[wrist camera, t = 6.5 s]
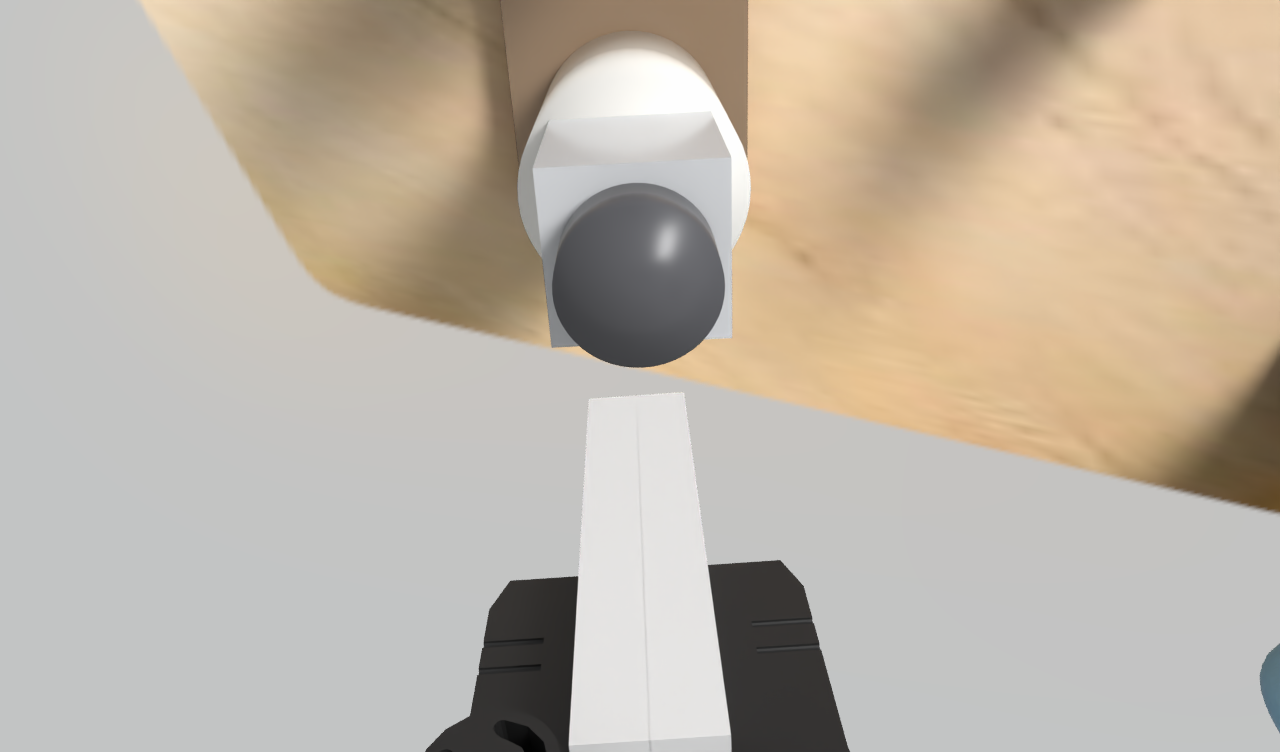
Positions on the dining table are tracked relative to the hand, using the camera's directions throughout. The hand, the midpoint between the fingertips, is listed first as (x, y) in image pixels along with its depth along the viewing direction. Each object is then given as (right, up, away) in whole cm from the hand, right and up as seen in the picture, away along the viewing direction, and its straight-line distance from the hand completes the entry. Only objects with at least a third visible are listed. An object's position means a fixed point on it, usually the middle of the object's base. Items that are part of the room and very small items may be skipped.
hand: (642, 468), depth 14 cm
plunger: (0, +8, +20) cm, 21 cm away
